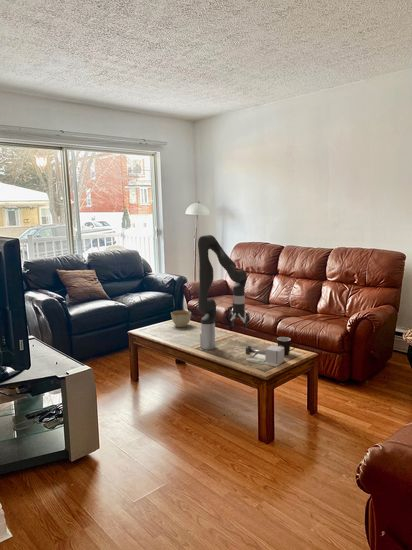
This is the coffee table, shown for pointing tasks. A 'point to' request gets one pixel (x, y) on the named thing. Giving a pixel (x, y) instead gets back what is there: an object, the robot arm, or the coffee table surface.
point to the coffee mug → (285, 344)
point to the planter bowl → (181, 318)
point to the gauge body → (269, 356)
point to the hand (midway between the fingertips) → (238, 327)
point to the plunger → (253, 351)
